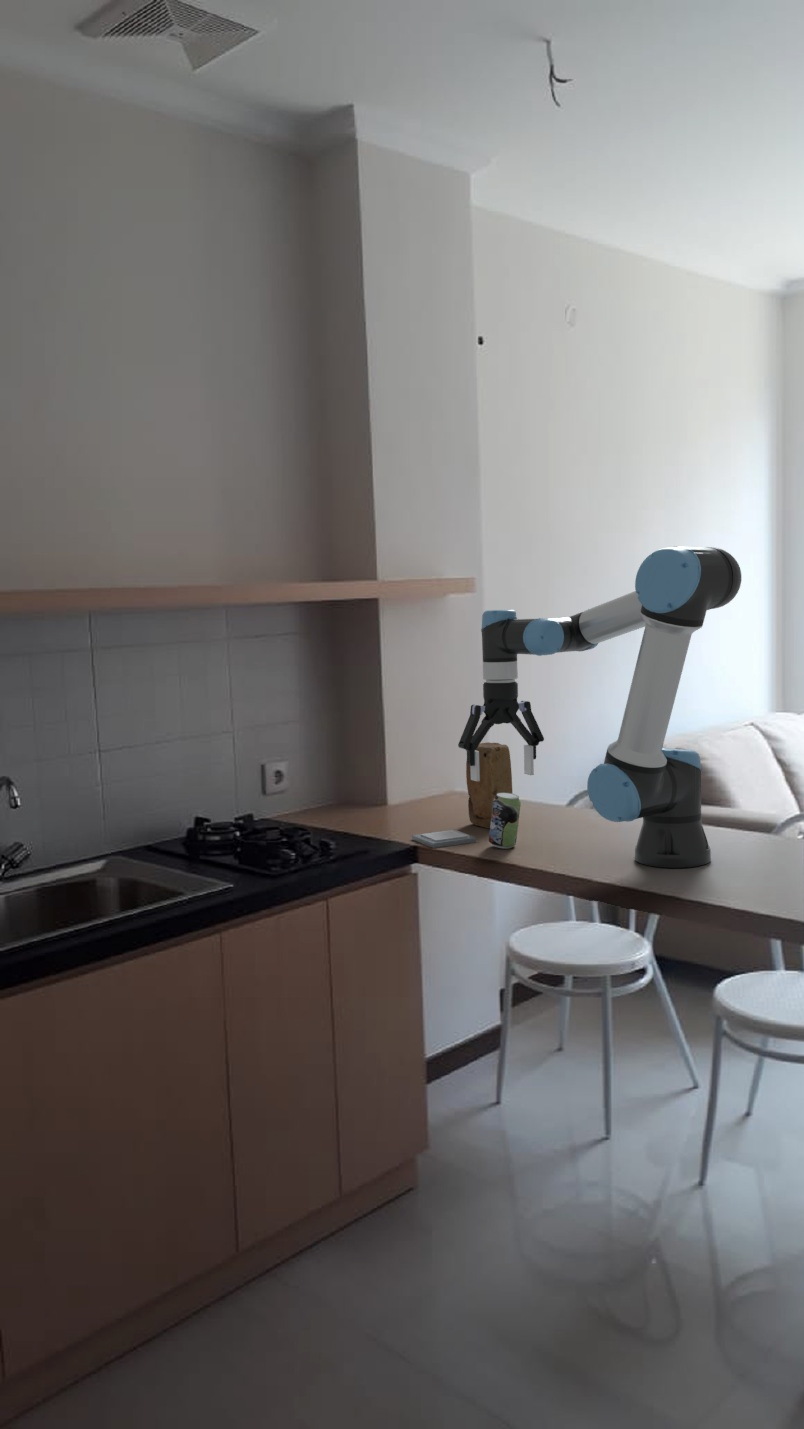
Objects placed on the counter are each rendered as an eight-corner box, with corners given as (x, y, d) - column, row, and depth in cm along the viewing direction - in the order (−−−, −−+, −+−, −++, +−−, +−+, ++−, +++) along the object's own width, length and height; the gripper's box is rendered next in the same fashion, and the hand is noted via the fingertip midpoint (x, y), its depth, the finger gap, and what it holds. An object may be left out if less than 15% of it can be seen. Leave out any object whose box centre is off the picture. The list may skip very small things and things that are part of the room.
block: (516, 826, 272) (514, 743, 270) (493, 831, 268) (490, 747, 266) (486, 820, 281) (483, 740, 279) (463, 825, 276) (460, 743, 274)
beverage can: (492, 843, 254) (490, 790, 253) (524, 844, 251) (523, 791, 250) (485, 849, 248) (484, 795, 247) (518, 850, 246) (517, 796, 244)
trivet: (476, 841, 256) (476, 836, 256) (433, 848, 252) (433, 842, 252) (454, 833, 266) (454, 828, 266) (412, 839, 262) (411, 833, 261)
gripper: (540, 676, 255) (541, 769, 257) (441, 683, 244) (444, 780, 246) (558, 678, 248) (559, 774, 250) (457, 685, 237) (460, 785, 240)
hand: (502, 777), depth 248 cm, fingers open, 13 cm apart
